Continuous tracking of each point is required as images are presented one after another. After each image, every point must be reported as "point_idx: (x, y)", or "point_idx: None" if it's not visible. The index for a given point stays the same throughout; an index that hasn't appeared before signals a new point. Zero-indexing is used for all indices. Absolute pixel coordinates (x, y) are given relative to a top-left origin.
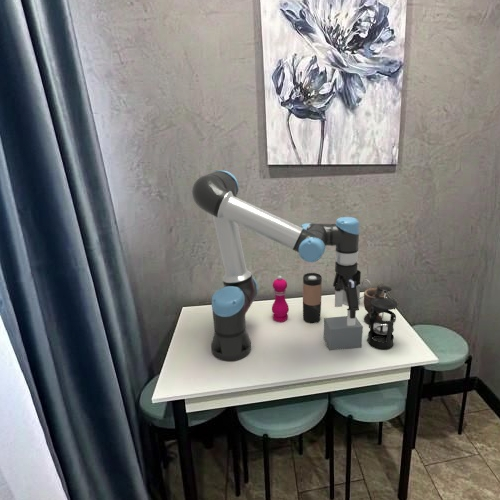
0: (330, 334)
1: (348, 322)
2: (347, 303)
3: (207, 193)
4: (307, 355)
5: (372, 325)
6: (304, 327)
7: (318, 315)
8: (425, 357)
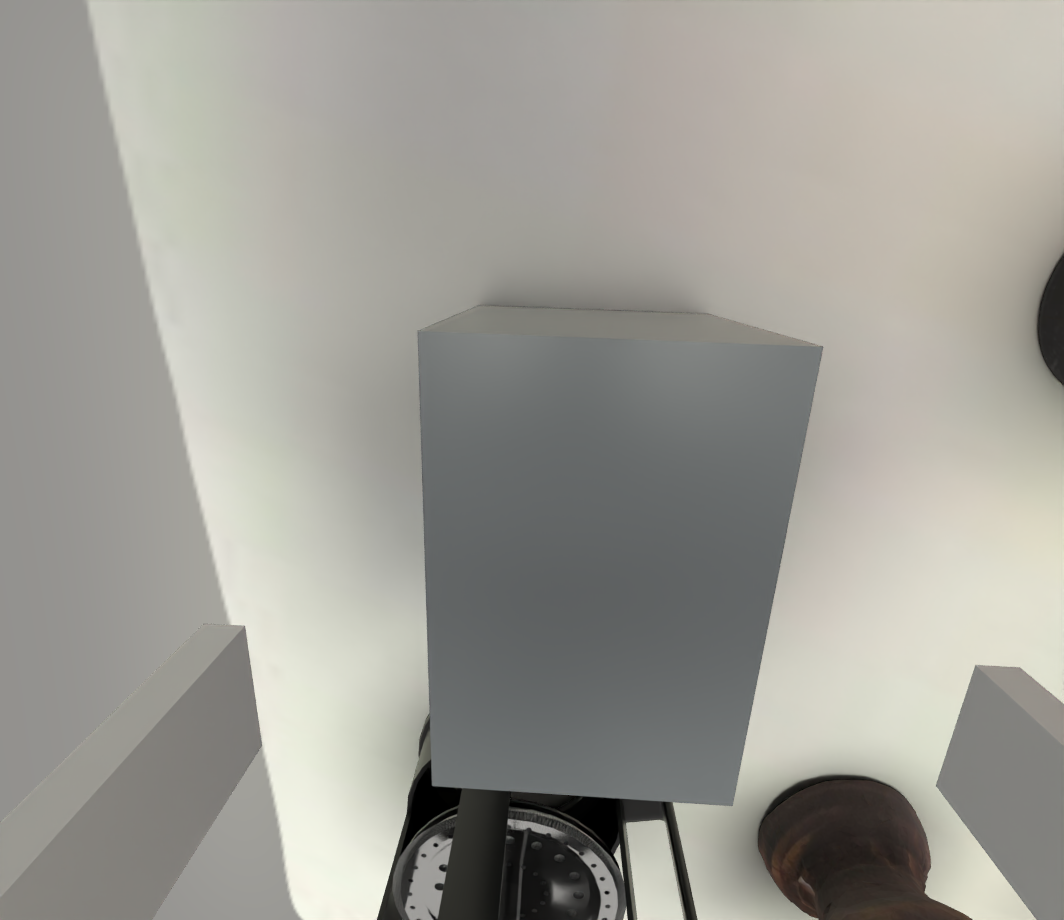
0: (439, 323)
1: (158, 685)
2: None
3: None
4: (426, 5)
5: (458, 876)
6: (1012, 142)
7: None
8: (314, 906)
